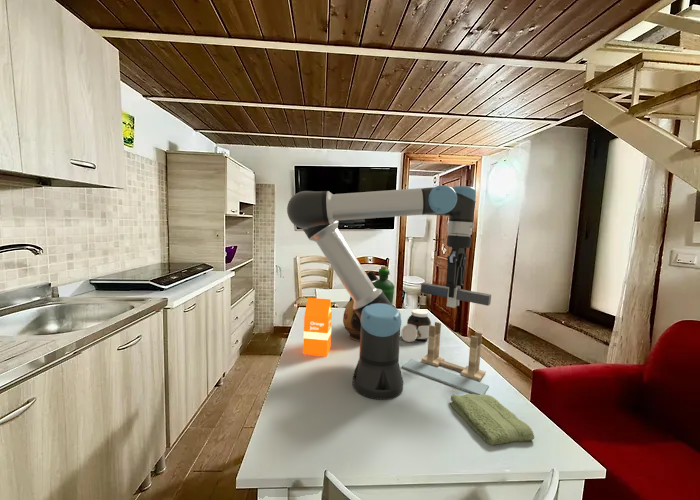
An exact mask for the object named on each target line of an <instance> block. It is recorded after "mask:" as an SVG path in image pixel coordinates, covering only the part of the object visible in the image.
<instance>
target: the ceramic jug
mask: <svg viewBox="0 0 700 500" xmlns="http://www.w3.org/2000/svg"><path fill="white" fill-rule="evenodd" d="M366 274H367V276H368V277H369V279H370V280H371V282H372V283H373V282H375V281H377V280H378V279H379V277H378V276H377V275H376V274H375V273H374V272H373V271H368V272H367V273H366ZM353 304H354V301H353V299H352V298H351V296H350V297H349V301H348V303H347V304H346V307H345V308H344V311H343V317H342V323H343V327H344V329H345V331H347V333H348V338H349V339H352V340H353V341H355V342H357V341H358V342H360V332H361V322H360V319H359V317H358V316H357V314H356V312H355V311H354V309H353Z"/></svg>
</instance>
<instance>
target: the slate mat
mask: <svg viewBox="0 0 700 500" xmlns="http://www.w3.org/2000/svg"><path fill="white" fill-rule="evenodd" d="M401 368H402V369H404V370H407V371H410V372H412V373H414V374H415V373H416V374H418V375H421V376H423V377H426V378H429V379H432V380H434V381H438V382H439V383H442V384H444V385H448V386H451V387H454V388H456V389H459V390H461V391H464V392H467V393H469V394H475V395H482V394H486V392H487V391H488V390H489V388H490V385H489V384H485V383H484V382H483V383H482V382H481V381H478V380H475V379H472V378H469V377H466V376H463V375H461V374H460V375H459V374H456V373H454V372H451V371H448V370H444V369H441V368H438V367H436V366H433V365H430V364H427V363H424V362H422V361H418V360H416V359H412V358H410V360H408V361H406V362H405V363H404V364H402V365H401Z"/></svg>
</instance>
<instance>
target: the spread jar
mask: <svg viewBox="0 0 700 500" xmlns="http://www.w3.org/2000/svg"><path fill="white" fill-rule="evenodd" d="M429 325H432V321H431V319H430V318H429V312H428V311H427V310H424V309H417V308H416V309H412V310H411V314H410V316H408V318H407V322H406V325H404V326H403V327H401V328H402V329H401V330H400V337H401V338H402V339H403V341H405V342H408V343H411V342H414V341H417V342H424V341H426V340H428V339H429Z"/></svg>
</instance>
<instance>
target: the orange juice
mask: <svg viewBox="0 0 700 500" xmlns="http://www.w3.org/2000/svg"><path fill="white" fill-rule="evenodd" d="M306 301H307V302H306V305H305V306H306V307H305V312H304V315H303V347H302V348H303V350H302V351H303V352H302V354H303V355H306V354H308V355H310V356H319V357H328V354H329V352H330V350H331V345H332V344H331V343H332V341H331V340H332V319H333V317H332V316H333V314H332V313H333V310H332V301H331V298H317V297H315V298H314V297H307V300H306Z"/></svg>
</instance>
